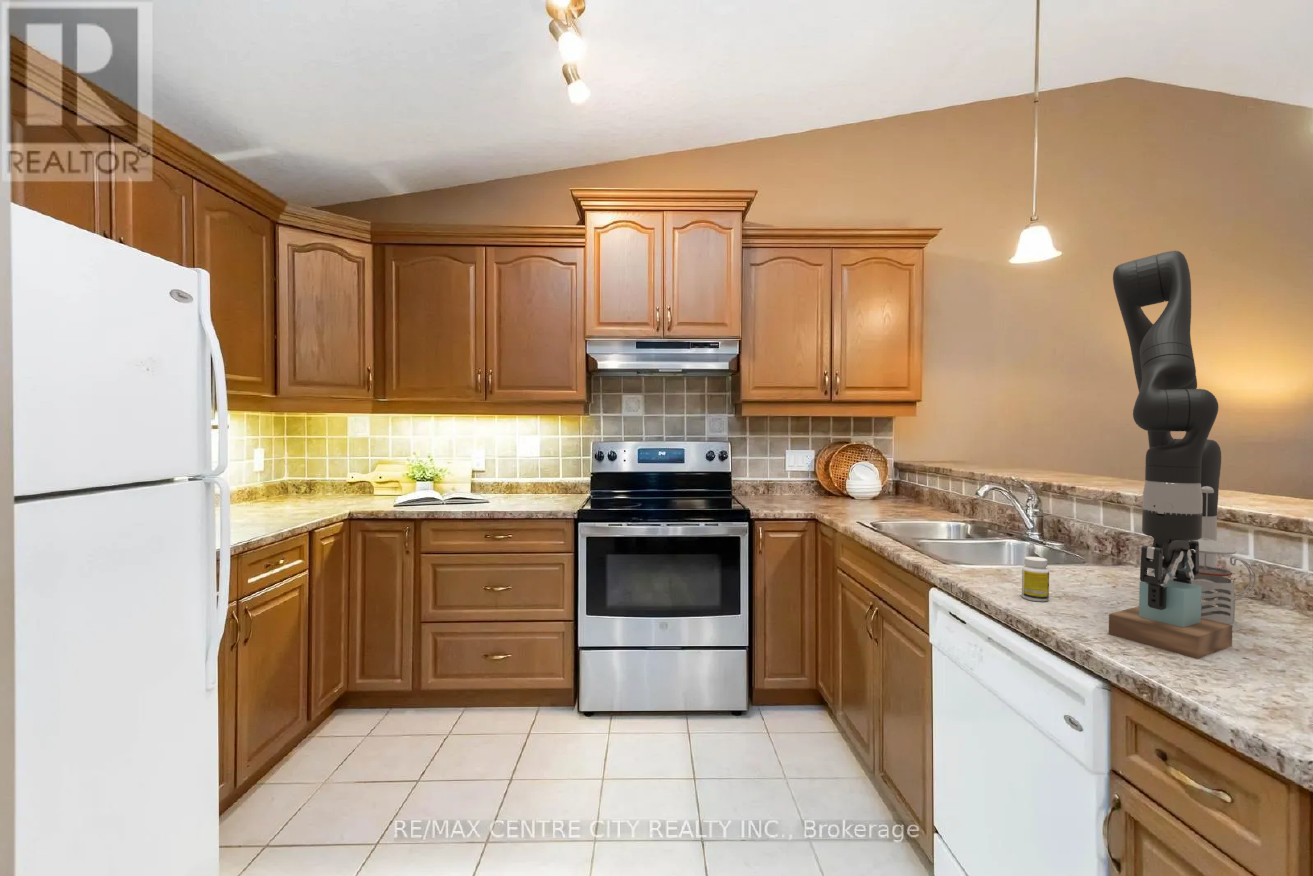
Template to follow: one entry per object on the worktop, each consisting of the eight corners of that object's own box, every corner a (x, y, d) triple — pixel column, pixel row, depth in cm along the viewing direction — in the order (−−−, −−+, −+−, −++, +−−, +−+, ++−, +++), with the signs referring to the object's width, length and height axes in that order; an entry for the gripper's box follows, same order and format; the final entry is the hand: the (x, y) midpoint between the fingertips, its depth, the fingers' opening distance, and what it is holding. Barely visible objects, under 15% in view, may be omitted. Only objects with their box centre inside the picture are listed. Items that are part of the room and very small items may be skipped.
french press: (1160, 610, 114) (1163, 482, 114) (1240, 619, 109) (1243, 485, 108) (1178, 625, 105) (1182, 487, 105) (1266, 636, 100) (1270, 490, 100)
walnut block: (1143, 626, 106) (1144, 604, 106) (1231, 649, 96) (1232, 625, 95) (1108, 637, 101) (1109, 614, 101) (1197, 662, 90) (1198, 636, 90)
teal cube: (1156, 611, 102) (1157, 577, 102) (1200, 622, 97) (1201, 586, 97) (1138, 616, 99) (1139, 581, 99) (1183, 627, 94) (1184, 590, 94)
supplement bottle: (1053, 603, 118) (1053, 561, 118) (1027, 601, 119) (1028, 560, 119) (1042, 596, 123) (1043, 556, 123) (1017, 594, 124) (1018, 555, 124)
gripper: (1164, 503, 104) (1162, 593, 105) (1123, 508, 98) (1121, 604, 98) (1220, 509, 98) (1217, 605, 98) (1179, 514, 91) (1176, 617, 91)
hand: (1169, 604), depth 98 cm, fingers open, 8 cm apart
